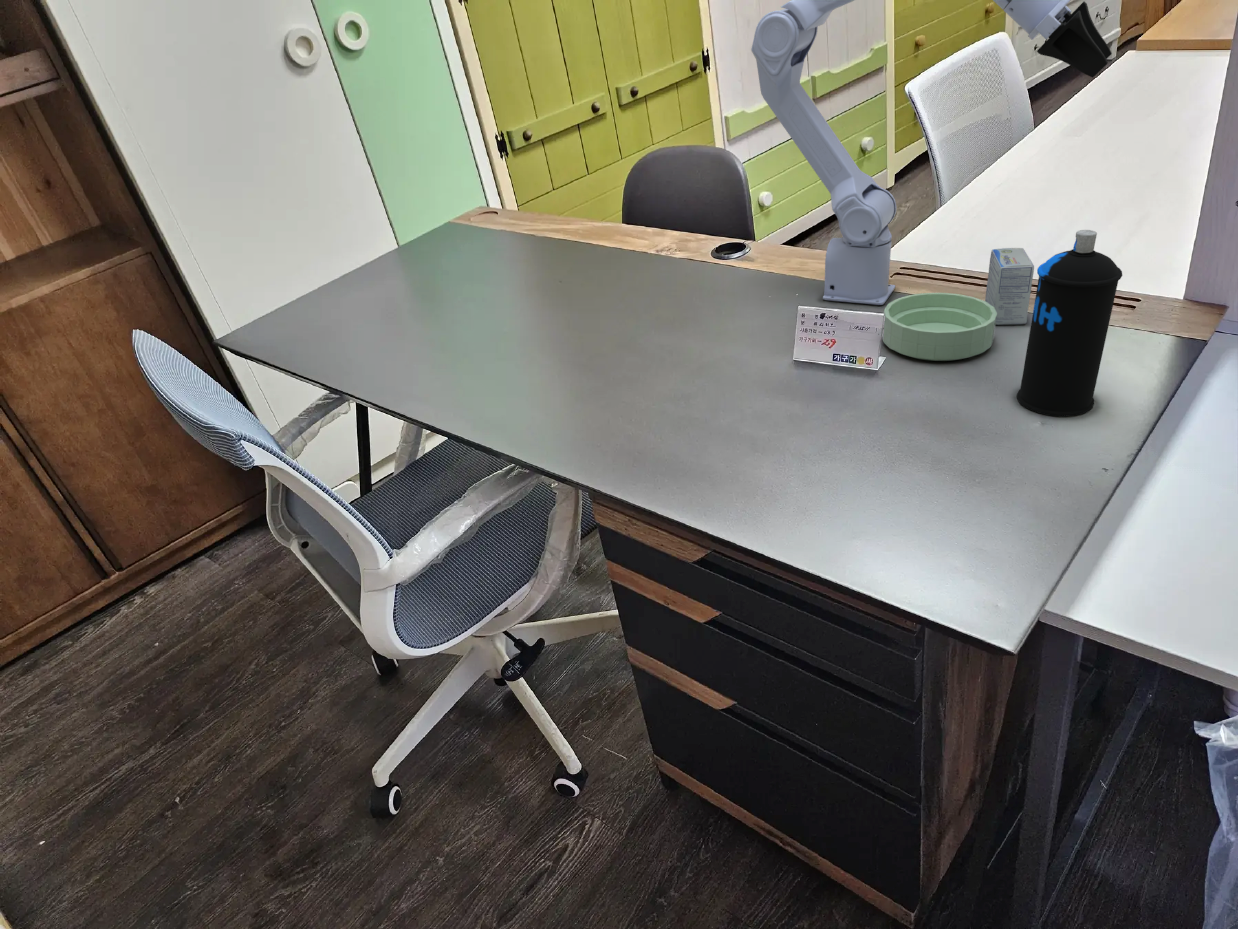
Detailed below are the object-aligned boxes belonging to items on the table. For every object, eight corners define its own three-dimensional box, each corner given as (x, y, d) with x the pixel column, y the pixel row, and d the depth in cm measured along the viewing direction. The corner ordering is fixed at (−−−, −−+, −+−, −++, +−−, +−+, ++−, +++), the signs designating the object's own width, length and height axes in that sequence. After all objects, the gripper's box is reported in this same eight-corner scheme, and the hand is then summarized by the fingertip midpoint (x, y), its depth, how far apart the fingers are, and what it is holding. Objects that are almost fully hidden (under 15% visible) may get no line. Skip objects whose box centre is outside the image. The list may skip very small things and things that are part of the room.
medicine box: (1026, 325, 118) (1036, 265, 113) (992, 325, 119) (1000, 266, 114) (1015, 304, 124) (1024, 246, 120) (983, 305, 125) (990, 247, 121)
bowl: (870, 356, 114) (872, 325, 112) (896, 317, 125) (898, 288, 122) (982, 370, 108) (986, 337, 105) (999, 327, 118) (1004, 297, 116)
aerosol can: (1089, 386, 101) (1125, 220, 91) (1098, 419, 95) (1137, 244, 84) (1014, 382, 104) (1040, 221, 94) (1018, 414, 98) (1046, 244, 87)
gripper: (1042, -37, 96) (1129, 45, 96) (1056, -45, 107) (1134, 29, 106) (993, 18, 101) (1075, 96, 101) (1010, 5, 111) (1085, 76, 111)
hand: (1102, 65), depth 104 cm, fingers open, 7 cm apart
